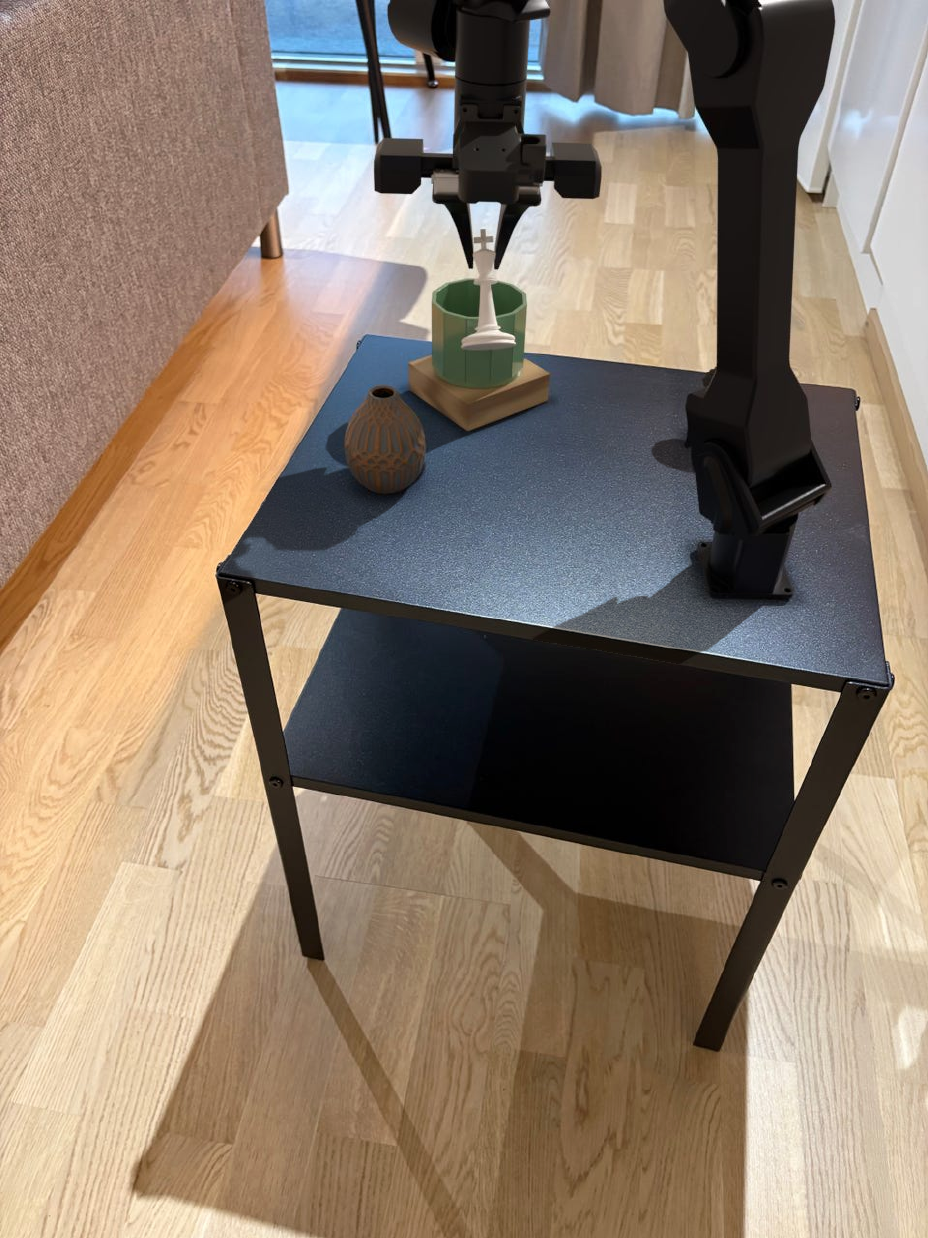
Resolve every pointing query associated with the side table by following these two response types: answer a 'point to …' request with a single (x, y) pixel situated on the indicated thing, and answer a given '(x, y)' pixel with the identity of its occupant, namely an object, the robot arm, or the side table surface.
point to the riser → (478, 394)
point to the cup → (460, 318)
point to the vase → (385, 442)
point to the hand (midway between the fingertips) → (483, 267)
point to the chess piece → (486, 304)
